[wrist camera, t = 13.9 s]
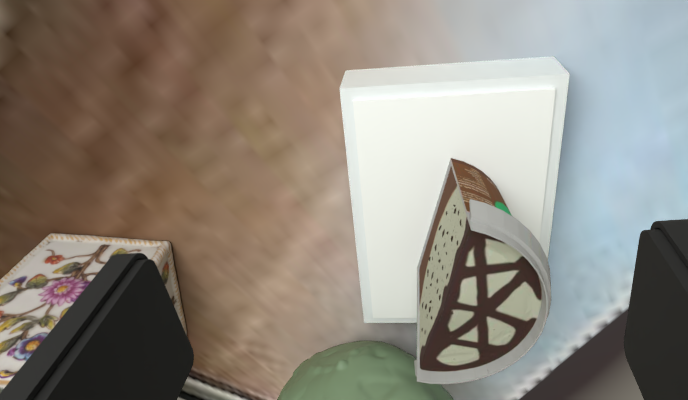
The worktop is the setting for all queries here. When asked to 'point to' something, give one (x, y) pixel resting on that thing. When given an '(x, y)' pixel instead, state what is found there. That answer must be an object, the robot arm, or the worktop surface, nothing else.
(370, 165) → the base
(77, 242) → the decorative jar
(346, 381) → the cabbage
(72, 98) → the worktop surface
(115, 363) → the robot arm
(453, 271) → the food container
